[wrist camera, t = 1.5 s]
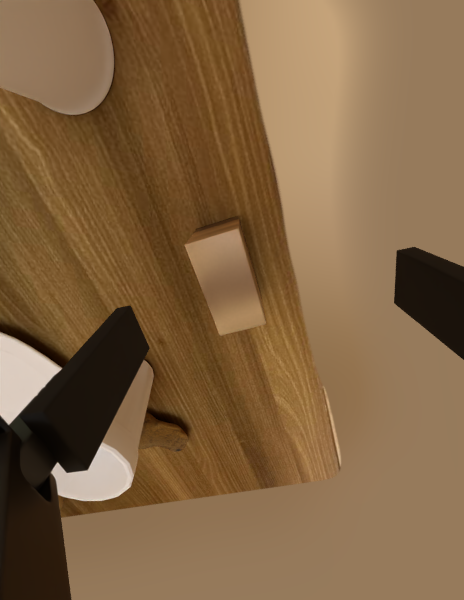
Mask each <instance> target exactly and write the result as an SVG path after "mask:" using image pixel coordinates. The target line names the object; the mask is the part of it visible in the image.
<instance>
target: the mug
mask: <svg viewBox="0 0 464 600" xmlns="http://www.w3.org/2000/svg"><path fill="white" fill-rule="evenodd" d="M113 73H114V52H113V45H112V40H111V36H110V33H109V30H108V27H107V25H106V22H105V20H104V18H103V16H102V14H101V12H100V10H99V8H98V7H97V5H96V3H95V2H94V1H93V0H0V88H3V89H5V90H8V91H11V92H14V93H16V94H19V95H22V96H25V97H27V98H30V99H33V100H35V101H38V102H40V103H41V104H43V105H44V106H46V107H48V108H50V109H52V110H54V111H56V112H59V113H63V114H68V115H79V114H84V113H87V112H89V111H91V110H93V109H94V108H96V107H97V106H98V105H99V104H100V103H101V102H102V101H103V100H104V98H105V97H106V95H107V93H108V91H109V89H110V86H111V83H112V79H113Z"/></svg>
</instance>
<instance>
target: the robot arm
mask: <svg viewBox="0 0 464 600" xmlns="http://www.w3.org/2000/svg"><path fill="white" fill-rule="evenodd" d="M395 278H396V279H395V297H394V303H395V304H396V305H397V306H398V307H400V308H401V309H402V310H403V311H404V312H406V313H407V314H408V315H409V316H411V317H412V318H413V319H414V320H415V321H417V322H418V323H419V324H421V325H422V326H423V327H424V328H425V329H427V330H428V331H429V332H430V333H431V334H433V335H434V336H435V337H436V338H438V339H439V340H440V341H441V342H442V343H444V344H445V345H446V346H447V347H449V348H450V349H451V350H452V351H454V352H455V353H456V354H457V355H458V356H460V357H461V358H462V359H463V360H464V267H463V266H460V265H458V264H455V263H453V262H450V261H448V260H445V259H443V258H440V257H438V256H435V255H433V254H431V253H428V252H426V251H423V250H421V249H418V248H416V247H412V248H407V249H402V250H397V257H396V277H395ZM148 350H149V345H148V343H147V341H146V339H145V337H144V334H143V332H142V330H141V328H140V326H139V323H138V321H137V319H136V317H135V314H134V312H133V310H132V308H131V306H125V307H121V308H117V309H116V310H115V311H114V312H113V313H112V314H111V315H110V316H109V317H108V319H107V320H106V321H105V322H104V323H103V324H102V325H101V326H100V327H99V328H98V330H97V331H96V332H95V333H94V334H93V335H92V336H91V337H90V338H89V339H88V341H87V342H86V343H85V344H84V345H83V346H82V347H81V348H80V349H79V351H78V352H77V353H76V354H75V355H74V356H73V357H72V358H71V359H70V360H69V362H68V363H67V364H66V365H65V366H64V367H63V368H62V369H61V370H60V371H59V372H58V373H57V374H55V375H54V376H53V377H52V378H51V380H50V381H49V382H48V383H47V384H46V385H45V387H43V388H42V389H41V390H40V392H39V393H38V395H37V396H35V397H34V398H33V399H32V400H31V401H30V402H29V404H28V405H27V406H26V407H25V408H24V409H23V410H22V411H21V412H20V413H19V415H18V416H17V417H16V418H15V419H14V420H13V421H12V422H11V423H10V424H9V425H8V423H7V422H6V421H5V420H4V419H3V418H2V417H1V415H0V600H71V594H70V586H69V578H68V571H67V562H66V555H65V547H64V538H63V530H62V522H61V515H60V507H59V499H58V491H57V483H56V479H55V477H54V476H53V474H52V473H51V472H52V470H53V468H54V467H55V465H56V464H57V462H58V463H59V464H60V466H61V467H62V468H63V469H64V470H65V472H66V473H72V472H79V471H87V470H88V469H89V467H90V465H91V463H92V461H93V459H94V457H95V455H96V453H97V451H98V449H99V447H100V445H101V443H102V441H103V439H104V437H105V435H106V433H107V431H108V429H109V427H110V425H111V423H112V421H113V420H114V418H115V416H116V414H117V412H118V410H119V408H120V406H121V404H122V402H123V400H124V398H125V396H126V394H127V392H128V390H129V388H130V386H131V384H132V382H133V380H134V378H135V376H136V374H137V372H138V370H139V368H140V366H141V364H142V362H143V360H144V358H145V356H146V354H147V352H148Z"/></svg>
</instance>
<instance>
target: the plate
mask: <svg viewBox="0 0 464 600" xmlns="http://www.w3.org/2000/svg"><path fill="white" fill-rule="evenodd" d="M61 369H62V367H60V366H59V365H57V364H56V363H55V362H53V361H52V360H51V359H49V358H48V357H46V356H45V355H43V354H42V353H40V352H39V351H37V350H36V349H34V348H33V347H31V346H29V345H27V344H25V343H24V342H22V341H20V340H18V339H16V338H14V337H12V336H9V335H7V334H4V333H2V332H0V415H1V417H2V418H3V419H4V420H5V421H6V422H7V423H8V425H9V424H10V423H11V422H12V421H13V420H14V419H15V418H16V417H17V416H18V415H19V413H20V412H21V411H22V410H23V409H24V408H25V407H26V406H27V405H28V404H29V402H30V401H31V400H32V399H33V398H34V397H35V396H37V395H38V393H39V392H40V390H41V389H42V388H43V387H45V385H46V384H47V383H48V382H49V381H50V380H51V378H52V377H53V376H54V375H55V374H57V373H58V372H59V371H60V370H61Z"/></svg>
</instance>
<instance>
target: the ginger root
mask: <svg viewBox="0 0 464 600" xmlns="http://www.w3.org/2000/svg"><path fill="white" fill-rule="evenodd" d="M187 441H188V436H187V435H186V433H185V432H184V431H183V430H182V429H181V428H180V427H179V426H178V425H176V424H172V423H167V422H163V421H159V420H157V419H155V418H154V417H153V416H152V415H151V414H150V413H148V412H146V414H145V419H144V423H143V428H142V432H141V437H140V441H139V446H138V449H146V448H149V447H154V446H155V447H156V446H160V447H163V448H167V449H169V450H171V451H174V452H177V451H180V450H182V449H183V448H184V447H185V445H186V443H187Z"/></svg>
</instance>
